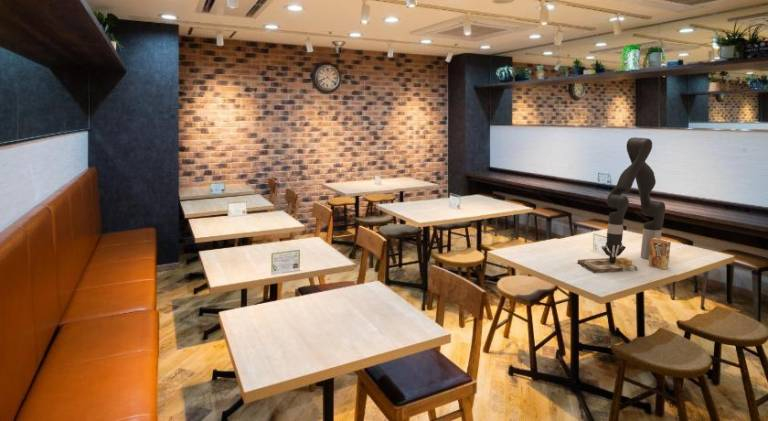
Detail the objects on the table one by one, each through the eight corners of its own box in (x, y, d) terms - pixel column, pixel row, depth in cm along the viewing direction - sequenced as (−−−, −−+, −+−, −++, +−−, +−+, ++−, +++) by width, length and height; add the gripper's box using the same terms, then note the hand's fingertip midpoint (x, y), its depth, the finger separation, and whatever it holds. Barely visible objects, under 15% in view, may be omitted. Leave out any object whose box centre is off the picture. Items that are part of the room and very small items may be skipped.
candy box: (668, 268, 259) (671, 240, 256) (664, 269, 257) (667, 242, 254) (651, 264, 266) (654, 237, 263) (647, 265, 264) (650, 238, 261)
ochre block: (624, 262, 264) (625, 257, 263) (631, 266, 258) (632, 260, 257) (614, 263, 263) (614, 257, 262) (621, 266, 257) (621, 261, 256)
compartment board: (617, 261, 273) (617, 255, 272) (636, 270, 256) (637, 264, 256) (577, 263, 270) (578, 257, 269) (594, 272, 253) (594, 266, 253)
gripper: (622, 229, 260) (619, 260, 264) (599, 230, 258) (596, 261, 262) (630, 233, 253) (627, 264, 256) (607, 234, 251) (604, 266, 255)
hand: (612, 263), depth 259 cm, fingers closed
